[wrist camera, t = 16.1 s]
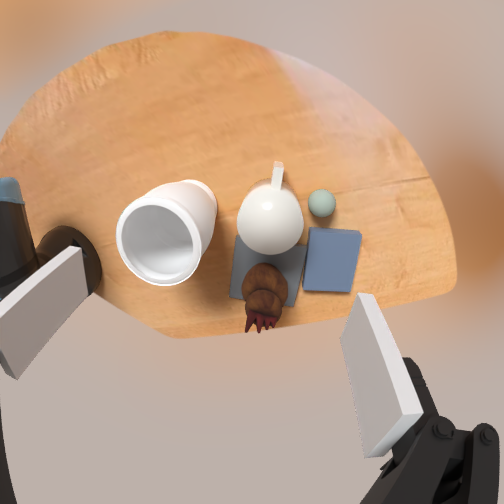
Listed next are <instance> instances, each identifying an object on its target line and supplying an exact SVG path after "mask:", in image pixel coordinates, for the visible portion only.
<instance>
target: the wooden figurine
mask: <svg viewBox="0 0 504 504" xmlns="http://www.w3.org/2000/svg"><path fill="white" fill-rule="evenodd" d="M241 291H242V296H243V299H244V300H245V301H246V304H245V310H246V314H247V321H246V327H245V332H246V333H247V332H248V330H249V329H250V327H251V326H252V324H253V323H254V324H255V325H256V326H257V332H258V333H260V332H261V328H262V327H264V326H265V329H266V330H268V328H269V326H271V327H272V328H274V327H275V324H276V322H277V321H278V320H279V318H280V316H281V313H282V307H283V306H284V304H285V302H286V300H287V298H288V282H287V280H286V279H285V277H284V276H283V275H282V273H281V272H280V271H279V270H278V269H277V268H276V267H275V266H273V265H272V264H269V263H265V262H264V263H258V264H256V265H254V266H253V267H252V268H251V269H250V270H249V271H248V272H247V274H246V275H245V277H244V280H243V283H242V286H241Z"/></svg>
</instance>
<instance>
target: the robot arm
mask: <svg viewBox="0 0 504 504" xmlns="http://www.w3.org/2000/svg"><path fill="white" fill-rule="evenodd" d="M100 280H101V265H100V261H99V258H98V255H97V253H96V251H95V249H94V247H93V246H92V244H91V243H90V241H89V240H88V239H87V238H86V237H85V236H84V235H83V234H82V233H81V232H79V231H78V230H76V229H74V228H72V227H69V226H58V227H56V228H54V229H52V230H51V231H49V232H48V233H47V234H46V235H45V236H44V237H43V238H42V240H41V242H40V244H39V245H38V246H37V248H36V249H35V246H34V243H33V239H32V235H31V232H30V227H29V223H28V219H27V215H26V210H25V202H24V201H23V198H22V194H21V189H20V185H19V183H18V181H17V180H16V179H15V178H13V177H4V178H0V364H1V366H2V367H3V369H4V371H5V373H6V374H7V375H9V376H11V377H12V378H14V379H16V380H18V379H19V377H20V376H21V375H22V373H23V372H24V371H25V369H26V368H27V367H28V365H29V364H30V363H31V361H32V360H33V359H34V358H35V357H36V355H37V354H38V353H39V352H40V350H41V349H42V348H43V347H44V346H45V344H46V343H47V342H48V341H49V339H50V338H51V337H52V336H53V335H54V333H55V332H56V331H57V330H58V329H59V327H60V326H61V325H62V324H63V323H64V322H65V321H66V319H67V318H68V317H69V316H70V315H71V314H72V312H74V310H75V309H76V308H77V307H78V306H79V305H80V304H81V303H82V302H83V300H84V299H85V298H86V297H88V296H89V295H91V294H92V293H93V291H94V290H95V289H96V288H97V287H98V285H99V283H100ZM340 341H341V346H342V350H343V354H344V358H345V362H346V367H347V371H348V375H349V380H350V385H351V390H352V394H353V399H354V404H355V409H356V413H357V419H358V424H359V430H360V434H361V440H362V446H363V452H364V458H370V457H381V456H384V455H385V454H386V453H387V452H388V451H389V450H390V449H391V448H392V453H393V457H392V458H391V459H390V460H389V461H388V462H387V463H386V464H385V465H383V466H382V467H381V468H380V470H383V469H384V470H383V471H382V473H381V474H380V476H379V477H378V479H377V480H376V482H375V483H374V485H373V486H372V487H371V489H370V490H369V492H368V493H367V494H366V496H365V497H364V498H363V500H362V501H361V503H360V504H497V500H498V488H499V466H500V465H499V463H500V460H499V459H500V454H499V453H500V452H499V436H498V433H497V432H496V430H495V429H494V428H493V427H492V426H491V425H489V424H487V423H481V424H479V425H477V426H476V427H475V428H474V430H472V431H464V430H457V429H456V428H455V426H454V425H453V423H452V422H451V421H450V420H448V419H447V418H445V417H442V416H439V414H438V412H437V409H436V407H435V404H434V402H433V399H432V397H431V395H430V392H429V390H428V387H426V383H425V380H424V379H423V376H422V374H421V371H420V369H419V367H418V366H417V365H416V363H415V362H414V361H413V360H412V359H411V358H402V357H401V355H400V352H399V350H398V348H397V345H396V343H395V341H394V339H393V336H392V334H391V332H390V330H389V328H388V325H387V323H386V321H385V319H384V317H383V315H382V313H381V311H380V308H379V306H378V304H377V302H376V300H375V298H374V296H373V294H366V293H358V292H357V295H356V298H355V301H354V304H353V306H352V309H351V312H350V314H349V317H348V320H347V322H346V325H345V328H344V330H343V333H342V335H341V338H340ZM0 504H17V502H16V498H15V496H14V491H13V487H12V483H11V479H10V474H9V469H8V464H7V459H6V453H5V446H4V439H3V431H2V422H1V409H0Z"/></svg>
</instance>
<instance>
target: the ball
mask: <svg viewBox="0 0 504 504" xmlns="http://www.w3.org/2000/svg"><path fill="white" fill-rule="evenodd" d="M308 207H309V209H310V211H311V212H312V213H313V214H314V215H316V216H318V217H326V216H329V215H330V214H331V213H332V212H333V211H334V209H335V207H336V200H335V197H334V196H333V194H332V193H331V192H329V191H328V190H325V189H318V190H316V191H314V192H313V193H312V194H311V195H310V196H309V199H308Z"/></svg>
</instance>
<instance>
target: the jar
mask: <svg viewBox="0 0 504 504" xmlns="http://www.w3.org/2000/svg"><path fill="white" fill-rule="evenodd" d="M216 215H217V201H216V198H215V196H214V194H213V192H212V191H211V190H210V188H209V187H208V186H206V185H205V184H203V183H202V182H199V181H196V180H183V181H180V182H174V183H167V184H163V185H160V186H158V187H156V188H154V189H152V190H151V191H149V192H148V193H146V194H145V195H144V196H143V197H141V198H138V199H136V200H135V201H133V202H132V203H130V204H129V205H128V206H127V207H126V208H125V209H124V211H123V212H122V214H121V215H120V217H119V220H118V223H117V227H116V243H117V247H118V251H119V253H120V255H121V258H122V259H123V261H124V263H125V264H126V265H127V267H128V268H129V269H130V270H131V271H132V272H133V273H134V274H135V275H136V276H138V277H139V278H141V279H142V280H144V281H146V282H148V283H151V284H155V285H160V286H171V285H175V284H178V283H181V282H183V281H185V280H186V279H187V278H189V277H190V276H191V275H192V274H193V272H194V271H195V270H196V268H197V266H198V264H199V262H200V259H201V256H202V255H203V254H204V252H205V251H206V249H207V247H208V246H209V243H210V241H211V239H212V235H213V231H214V224H215V218H216Z"/></svg>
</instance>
